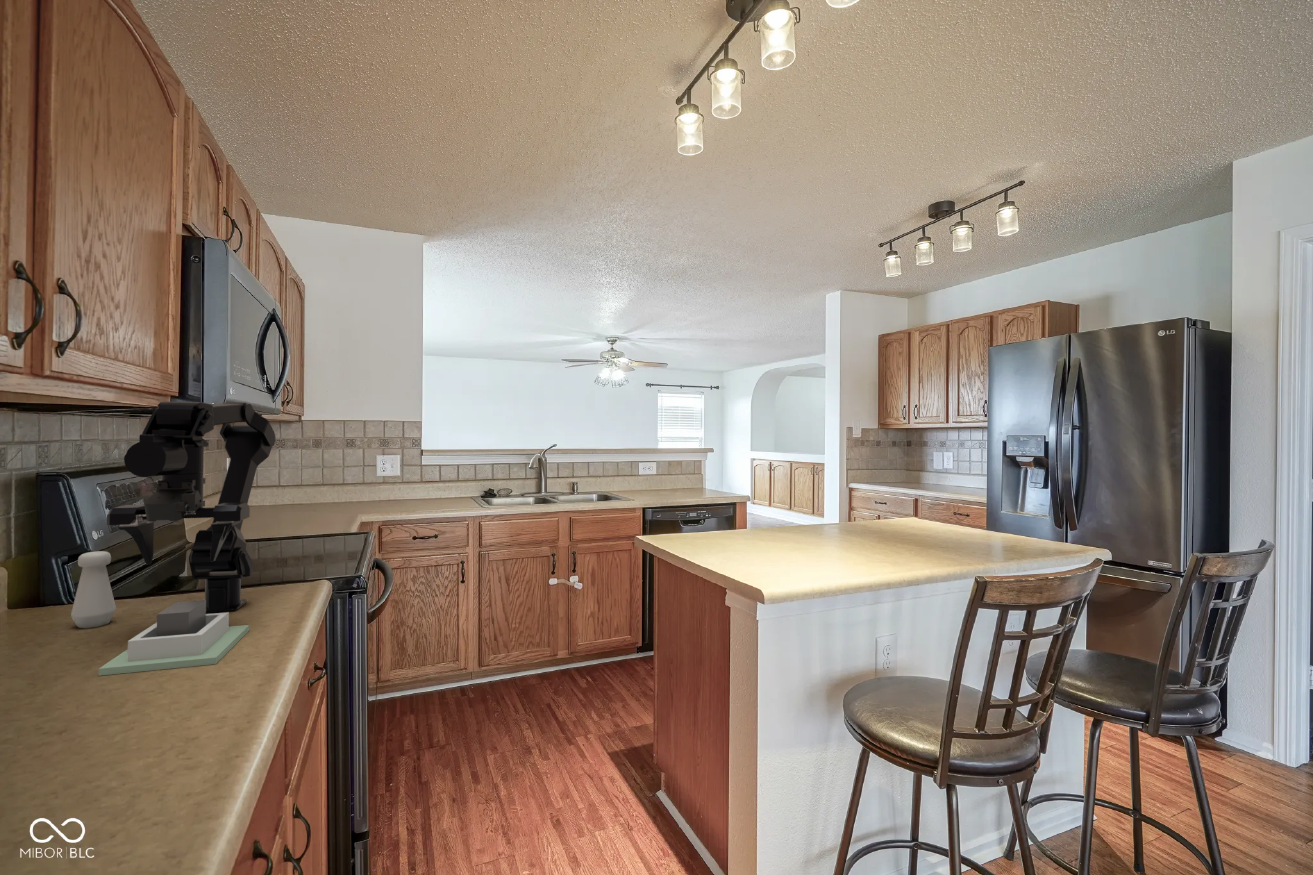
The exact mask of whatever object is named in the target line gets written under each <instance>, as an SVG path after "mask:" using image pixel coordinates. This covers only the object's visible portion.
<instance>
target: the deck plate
mask: <svg viewBox="0 0 1313 875" xmlns="http://www.w3.org/2000/svg"><path fill="white" fill-rule="evenodd" d="M229 612H230V611H226V612H218V613H217V612H213V613H206V626H205V627H204V628H202V629H201V630H200V631H199V632H197V633H196V634H184V635H172V636H160V637H157V622H155V623H154V624H152V625H150V626H148V627H147V628H146V629H144V630H143V631H141V632H139V633H138V634H136V635H135V636H134V637H132V638H131V639H129V640H127V649H126V650H124V651H123V652H121V653H120V654H119V655H117V656H115V657H114V658H112V659H111V660H109V661H108V662H107V663H105V664H103V665H102V666H101V667H99V668H98V676H99V677H100V676H109V675H110V676H112V675H118V674H129V673H140V672H150V671H158V670H159V671H160V670H161V671H162V670H168V669H169V670H170V669H181V668H188V667H189V668H191V667H201V666H209V665H216V664H218V663H219V662H220V661H221V660H222V659H223V658H224V657H225V656H226V654H228V653H229V652H230V651H231V650H232V649H233V648H234V647H235V646H236V645H237V643H238V642H240V641H241V640H242V639H243V638H244V637H245V635H246V634H247V633H249V631H250V624H244V625H233V626H232V625H231V626H229V623H230V622H229V621H230V619H229V617H230V613H229Z"/></svg>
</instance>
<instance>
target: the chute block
mask: <svg viewBox="0 0 1313 875" xmlns="http://www.w3.org/2000/svg"><path fill="white" fill-rule="evenodd" d="M206 614H207V612H206V600H205V599H202V600H200V599H199V600H188V601H186V600H185V601H184V600H183V601H176V602H174V603H172V605H169V606H168V607H166V608H165V609H164V610H162V611H160V612H158V613H157V614H156V623H157V637H160V636H172V635H184V634H196V633H197V632H199V631H200V630H201V629H202V628H204V627H205V626H206Z"/></svg>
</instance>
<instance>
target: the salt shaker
mask: <svg viewBox="0 0 1313 875" xmlns="http://www.w3.org/2000/svg"><path fill="white" fill-rule="evenodd" d="M111 561H112V556H111V553H110V552H109V551H104V550H103V551H101V550H99V551H90V552H84V553H82V554H80V555H79V556H78V558H77V565H78V567H80V568H82V569H81V573H80V577H79V582H78V584H77V589H76V593H75V598H74V601H73V605H72V607H71V608H72V609H71V612H70V616H71V618H72V621H73V622H74V625H75V626H76V627H77V628H80V629H90V628H91V629H92V628H97V627H103V626H104V625H108V624H110V622H111V620H112V617H113V616H114V614H115V612H116V608H117V606H116V603H115V599H114V594H113V590H112V587H111V586H112V585H111V583H110V578H109V574H108V569H107V565H109V564H110V563H111Z"/></svg>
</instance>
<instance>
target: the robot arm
mask: <svg viewBox="0 0 1313 875" xmlns="http://www.w3.org/2000/svg"><path fill="white" fill-rule="evenodd" d="M242 422H243V423H246V424H234V425H231V424H232V423H242ZM219 425H222V426H221V428H220V431H219V434H220V436H221V438H222V440H224V443H225V444H224V449H225V451H226V453H227V455H228V457H229V460H230V461H229V465H228V467H227V471H226V473H225V478H224V481H223V484H222V489H221V491H220V495H219V499H218V503H217V504H215V505H214V506H213V507H212V506H211V507H205V506H206V500H204V485H205V484H206V477H204V455H205V454H204V453H205V452H204V450H205V449H204V448H206V447H209V442H208V441H207V440H206V439H204V438H203V437H204V436H205V435H206V434H207V433H210V432H212V431H213V430H214V428H215V426H219ZM138 438H139V440H138V442H137V443H134V444H133V445H131V446H130V447H129V448H128V449H127V451H126V453H125V455H124V456H123V462H124V466H125V467H126V468H125V469H127V470H128V472H130V473H131V474H132V475H133V476H136V477H138V478H139V477H140V478H152V477H161V478H160V480H158V481H157V486H156V487H157V488H156V490H155V492H154V493H152V494H151V495H150V496H149V497H147V499H146V500H144V502H143V504H125V505H120V506H117V507H116V506H115V507H112V508H110V510H109V511H108V512H107V515H106V516H107V517H106V525H107V526H116V528H117V530H118V531H125V532H126V534H128V535H129V536H130V537H132V539H133V540H134V542H135V544H136V546H137V548H138V550H139V551H140V554H141V556H142V559H143V561H144V562H145V565H146V566H150V565H152V563H153V559H154V539H155V538H154V534H155V532H154V531H155V530H154V528H155V527H154V526H155V523H154V522H157V521H170V522H177V521H180V520H182V519H207V518H209V519H211V518H212V519H213V520H212V523H211V524H210V526H209V527H208V528H207V529H200V530H198V532H197V533H196V534H195V539H194V541H193V542H194V543H193V545H192V547H191V549H190V553H189V556H188V562H189V563H188V564H189V568H190V571H191V576H192V580H193V581H197V580H204V600H206V613H217V612H218V613H220V612H230V611H237V610H239V609H240V608H241V607H243V606H244V605H245V604H246V603H247V601H248V600H247V599H244V598H243V599H241V598H242V594H241V592H242V590H241V589H242V588H241V586H242V581H241V580H242V579H243V578H246V577H251V576H252V574H253V570H254V561H253V559H252V558H251V557H250V555H249V552H248V551H247V542H246V539H245V538H244V535H243V533H242V525H243V523H244V522H243V521H244V520H246V519H248V518H249V517H250V511H251V510H250V509H251V508H250V506H249V505H248V502H249V499H250V496H251V491H252V488H253V484H254V479H255V476H256V471H257V469H258V467H259V466H260V465H261V463H264V462H265V460H266V459H267V458H269V457H270V454H271V451H272V448H273V447H274V445H275V444H276V433H275V430H274V429H273V427H272V425H271V423H270V421H269V420H268V419H266V418H265V417H263V416H262V415H261V414H259V413H258V412H256V411H255V409H254V407H253V406H252V404H250V403H247V402H234V401H233V402H231V401H225V402H222V403H216V404H214V403H213V404H212V403H207V402H203V401H202V402H201V401H169V400H167V401H164V400H163V401H160V402H159V403H158V404H157V408H154V410H153V411H152V414H151V415H150V418H149V419H148V421H147V423H146V425H145V427H144V429H143V431H142V433H141V434H139V436H138Z"/></svg>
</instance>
